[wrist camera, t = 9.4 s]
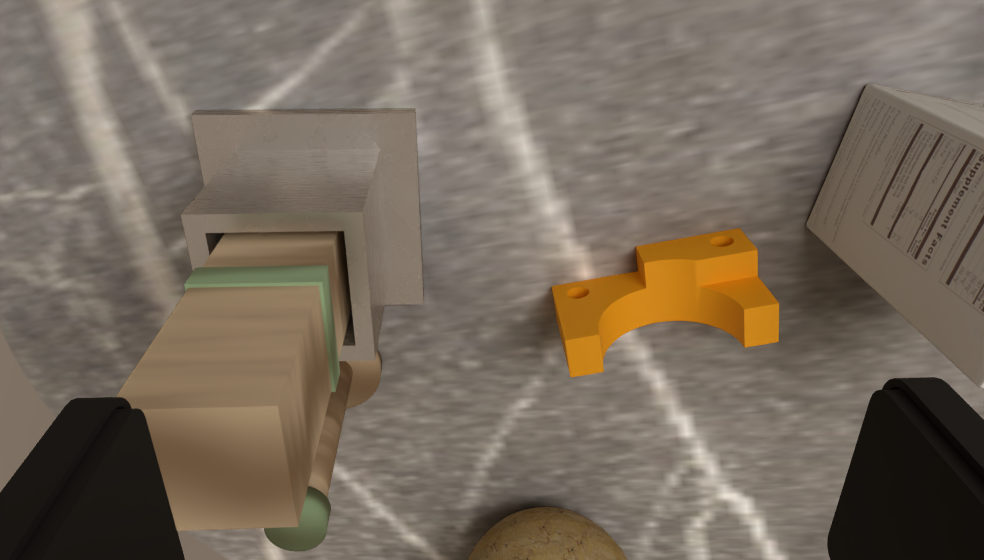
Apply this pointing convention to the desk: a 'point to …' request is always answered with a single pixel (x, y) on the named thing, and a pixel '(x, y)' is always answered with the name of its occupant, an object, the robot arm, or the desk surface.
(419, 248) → the sleeve
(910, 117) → the supplement box
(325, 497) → the marker post
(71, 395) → the desk surface
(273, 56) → the desk surface
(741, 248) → the pipe clamp
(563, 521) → the fossilized egg
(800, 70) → the desk surface
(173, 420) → the column
